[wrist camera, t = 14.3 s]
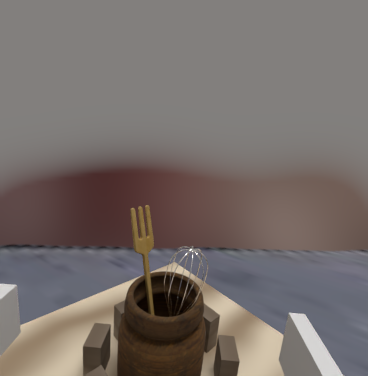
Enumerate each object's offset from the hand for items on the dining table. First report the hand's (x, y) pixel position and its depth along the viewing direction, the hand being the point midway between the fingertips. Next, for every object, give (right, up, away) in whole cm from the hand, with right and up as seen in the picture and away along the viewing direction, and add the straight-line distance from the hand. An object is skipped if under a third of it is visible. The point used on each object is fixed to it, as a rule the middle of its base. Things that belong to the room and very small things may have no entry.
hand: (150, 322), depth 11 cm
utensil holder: (0, -7, +6) cm, 9 cm away
